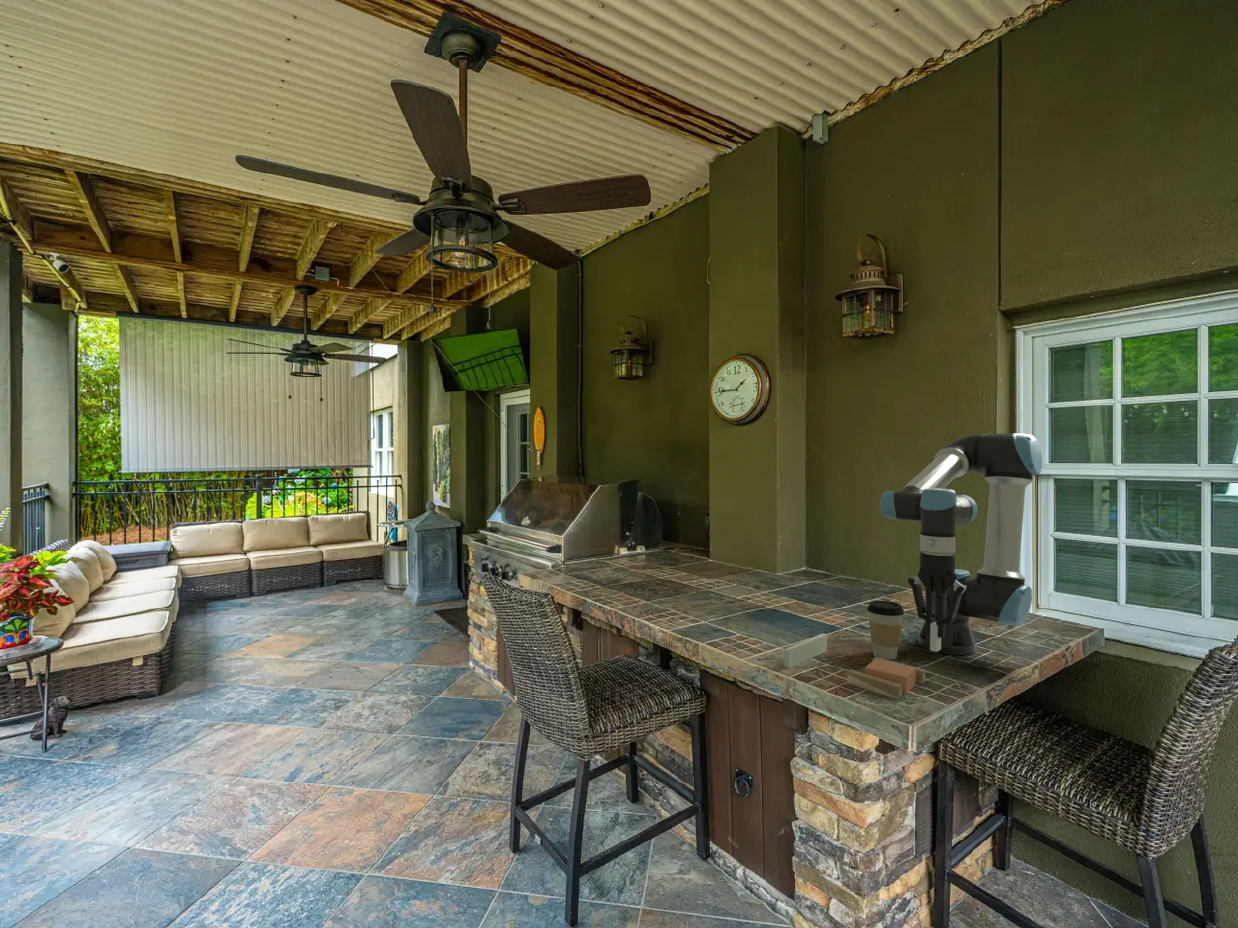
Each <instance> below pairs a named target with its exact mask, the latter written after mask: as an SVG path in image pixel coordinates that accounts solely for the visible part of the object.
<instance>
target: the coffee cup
mask: <svg viewBox="0 0 1238 928" xmlns="http://www.w3.org/2000/svg"><path fill="white" fill-rule="evenodd" d="M866 611H868V615H869V619H868V620H869V621H868V622H869V629H870V637H871V638H870V639H871V645H872V652H873V656H874V657H879V658H882V659H886V660H895V659H897V657H898V651H899V646H900V639H901V632H902V627H903V622H902V621H903V615H904V614H905V610H904V609H903V605H902V604H901V603H898V602H895V601H889V600H873V601H870V602H869V605H868V606H867V609H866Z"/></svg>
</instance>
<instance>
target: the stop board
mask: <svg viewBox="0 0 1238 928" xmlns="http://www.w3.org/2000/svg"><path fill="white" fill-rule="evenodd" d="M827 644H828V634H826V633H823V632H822V633H820V634H818V635H815V636H813V637H810V638H808V639H805V640H804V641H801V642H799V643H795V644H793V645H791V646H788V647H787V648H784V667H785V668H786V667H787V669H790V668H793V667H795V666H797V664H798V665H799V664H803V663H804V662H806V661H808V660H810V659H812V658H816V657H817V656H819V655H822V654H823V653H826V652H827V649H828V648H827V647H828V645H827Z"/></svg>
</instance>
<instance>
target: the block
mask: <svg viewBox="0 0 1238 928" xmlns="http://www.w3.org/2000/svg"><path fill="white" fill-rule="evenodd" d="M897 663H898V662H897ZM897 663H892V662H888V661H883V660H879V659H875V660H873V659H872V661H871V662H870V663H868V664H867V665H865V667H864V674H867V675H870V676H873V677H877V678H880V679H884V680H887V681H890V682H894V683H897V684H901V685H902V694H904V695H907V694H908V693H909V692H910V691H911V690H912V689H913V688H914V687H915V685H917V682H916V668H917V667H916V668H914V667H915V666H912V667H910V666H911V665H909V666H906V665H907V664H905V665H901V664H902V663H901V664H897Z"/></svg>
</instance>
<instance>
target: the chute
mask: <svg viewBox="0 0 1238 928" xmlns="http://www.w3.org/2000/svg"><path fill="white" fill-rule="evenodd" d="M875 659H879V660H883V661H888V662H892V663H897V664H901V665H906V666H910V667H914V668H916V683H918V684H924V683H925V682H926V669H923V668H920V667H915V666H913V665H909V664H908V665H907V664H905V663H901V662H897V661H892V660H891V659H882V658H879V657H876V656H874V657H873V658H872V661H873V660H875ZM846 673H847V675H846V683H847V685H851V686H855V687H858V688H860V689H864V690H867V691H870V692H873V693H877V694H880V695H883V696H886V697H889V698H892V699H896V700H900V699H901V698H902V697H903V693H902V685H901V684H897V683H894V682H890V681H887V680H884V679H880V678H877V677H873V676H870V675H867V674H865V673H863V672H859V671H856V670H852V669H851V670H848V671H847V672H846Z"/></svg>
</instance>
